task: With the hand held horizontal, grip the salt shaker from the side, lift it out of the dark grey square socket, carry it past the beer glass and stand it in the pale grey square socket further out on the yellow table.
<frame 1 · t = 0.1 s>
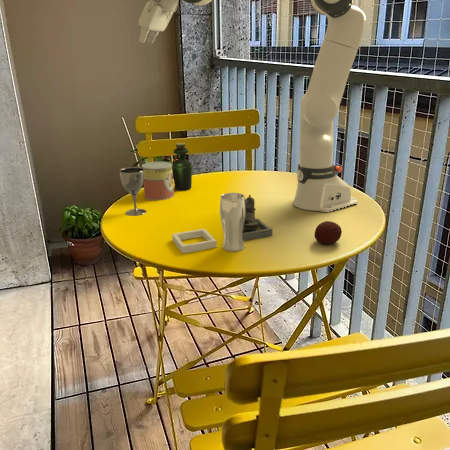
hand: (145, 42, 146), 54 cm above the table, tool tilted 30°, fingers open, 8 cm apart
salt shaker: (249, 233, 137), resting in dark socket
dark socket: (249, 232, 137), on the table
wine glass: (136, 212, 156), on the table
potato: (327, 243, 129), on the table
canned food: (159, 196, 173), on the table
beer glass: (233, 247, 127), on the table
pale socket: (194, 243, 130), on the table
potion bottle: (183, 188, 181), on the table
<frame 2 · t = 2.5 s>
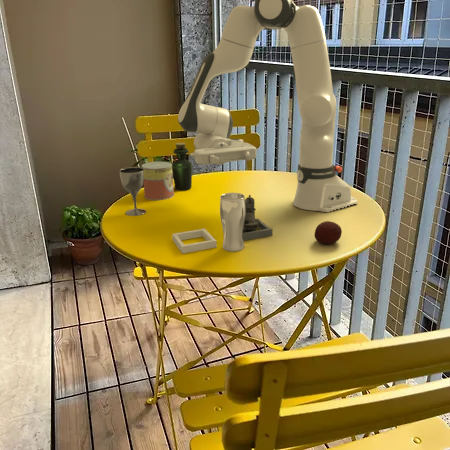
hand: (234, 159, 139), 20 cm above the table, tool horizontal, fingers open, 8 cm apart
nothing on the table moved.
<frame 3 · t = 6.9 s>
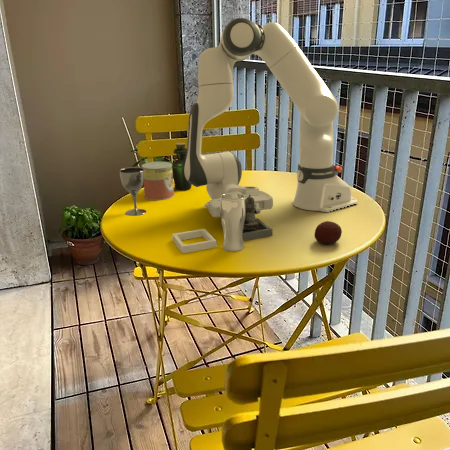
hand: (251, 212, 134), 7 cm above the table, tool horizontal, fingers closed on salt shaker, 3 cm apart
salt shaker: (249, 232, 137), resting in dark socket, touching gripper
everything else where it was.
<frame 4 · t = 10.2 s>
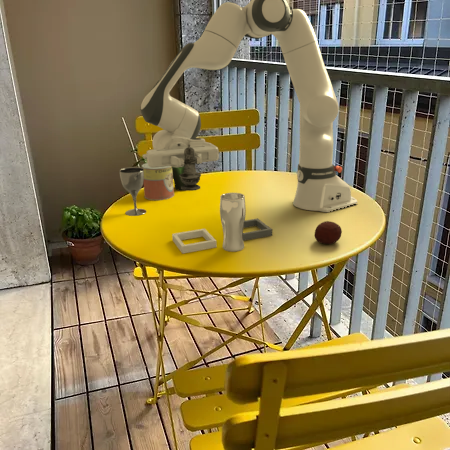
hand: (190, 161, 120), 24 cm above the table, tool horizontal, fingers closed on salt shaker, 3 cm apart
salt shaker: (190, 188, 124), point 16 cm above the table, touching gripper
everything else where it was.
when the fingers open (8 cm above the table, at t = 13.6 s): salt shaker stays where it is, resting in pale socket.
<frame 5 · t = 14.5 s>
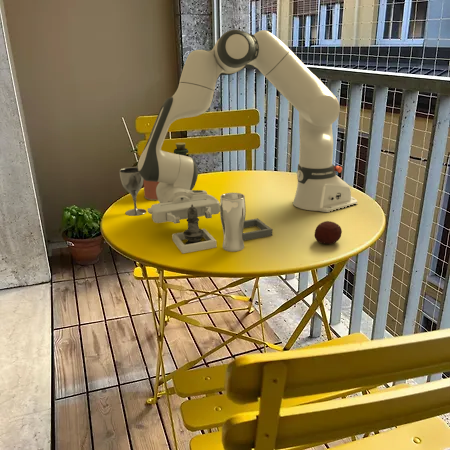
hand: (193, 218, 126), 8 cm above the table, tool horizontal, fingers open, 8 cm apart
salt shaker: (194, 244, 130), resting in pale socket
everything else where it was.
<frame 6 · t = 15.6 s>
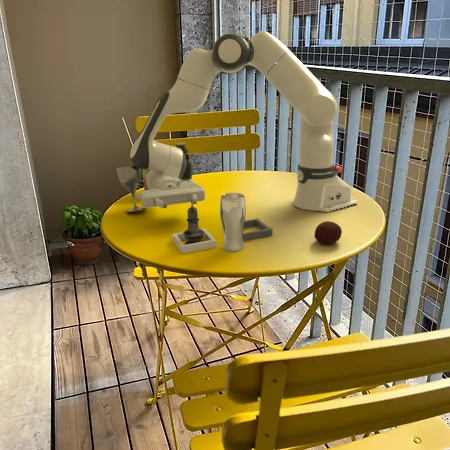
hand: (179, 203, 136), 9 cm above the table, tool horizontal, fingers open, 8 cm apart
wine glass: (136, 210, 156), point 1 cm above the table, touching arm
everything else where it was.
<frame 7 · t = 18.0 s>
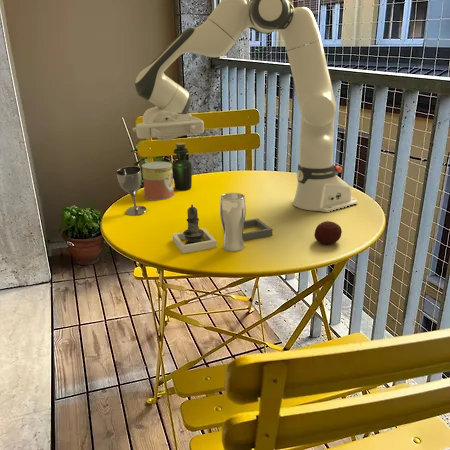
hand: (176, 132, 129), 30 cm above the table, tool horizontal, fingers open, 8 cm apart
wine glass: (136, 211, 156), on the table
everything else where it was.
at the end: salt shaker 0.1 cm off-centre on the pale socket, point 0.0 cm above the pale socket's base; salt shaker tilted 0°; the gripper is holding nothing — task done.
